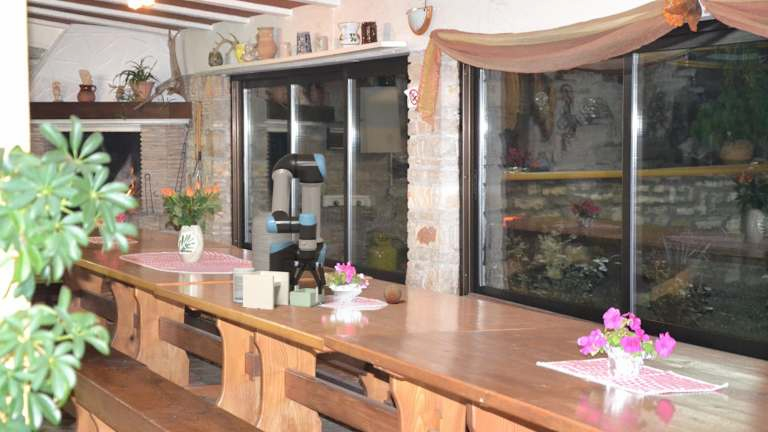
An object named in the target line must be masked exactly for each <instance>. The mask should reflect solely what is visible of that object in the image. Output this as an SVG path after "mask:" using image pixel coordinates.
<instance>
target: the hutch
mask: <svg viewBox="0 0 768 432" xmlns="http://www.w3.org/2000/svg"><path fill="white" fill-rule="evenodd" d="M275 305H278V306H279V305H280V306H290V292H289V272H275V271H256V272H251V273H247V274H243V303H242V308H243V307H247V309H257V308H260V309H259V310H275Z"/></svg>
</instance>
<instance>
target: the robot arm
mask: <svg viewBox="0 0 768 432" xmlns="http://www.w3.org/2000/svg"><path fill="white" fill-rule="evenodd" d="M327 178H328V175H327V165H326V158H325V156H324V154H322V153H287V154H285V155H284V156H282V157H281V158H279V159H278V160H277V162H276V163H275V164H274V166H273V168H272V172H271V179H272V181H273V188H272V189H273V191H272V200H271V201H272V202H271V203H272V204H271V212H272V215H271V216H268V217H267V218H266V231H267V232H268V233H275V234H277V233H291V235H293V234H295V235H296V234H298V243H295V241H294V240H292V239H291V240H290V241H289V240H288V241H280V242H275V243H272V244H271V245H270V248H269V271H275V272H289V293H290V292H292V291H295V290H299V289H300V285H299V281H300V279H301V277H302V275H303V273H304V272H305V271H306V272H310V274H311V275H312V277H313V279H314V282H315V283H316V285H317V286H316V287H315V289H316V302H320V294H322V289H323V287H325V286H326V285H327V280H326V276H325V271H324V265H325V260H326V259H325V258H326V251H327V244H326V243H325V242H324V239H323V238H322V237H321V196H322V195H321V186H322V185H323V184H324V183H325V180H326V179H327ZM293 179H296V180H298V183H299V184H300V186H301V213H299V216H296V215H295V216H294V215H293V216H292V215H291V216H290V215H289V214H290V212H289V211H290V195H291V183H292V181H293ZM297 269H298V270H297ZM297 271H298V272H297ZM317 271H318V272H317Z"/></svg>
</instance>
